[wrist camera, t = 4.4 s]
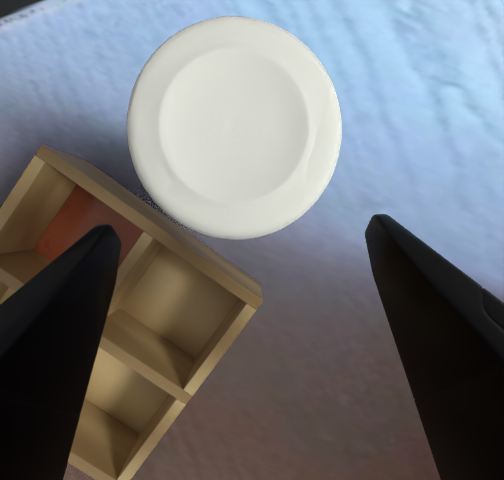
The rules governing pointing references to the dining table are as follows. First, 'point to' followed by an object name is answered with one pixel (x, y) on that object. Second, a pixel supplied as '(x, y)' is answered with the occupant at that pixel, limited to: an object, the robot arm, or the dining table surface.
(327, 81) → the sprinkles bottle
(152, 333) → the grid
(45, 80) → the dining table surface
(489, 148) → the dining table surface
